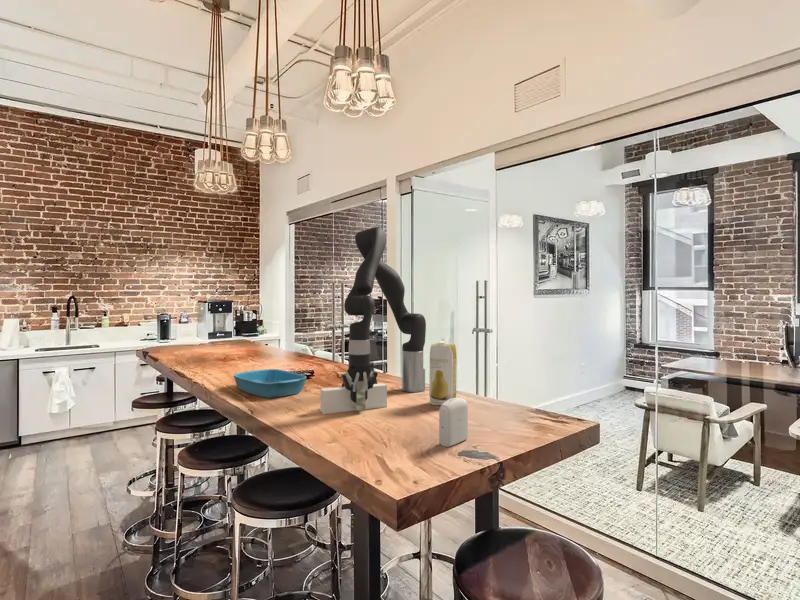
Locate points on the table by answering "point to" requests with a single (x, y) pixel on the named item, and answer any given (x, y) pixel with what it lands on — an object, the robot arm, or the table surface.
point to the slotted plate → (358, 394)
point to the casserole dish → (270, 382)
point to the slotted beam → (341, 400)
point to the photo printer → (453, 422)
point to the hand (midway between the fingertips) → (359, 401)
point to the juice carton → (442, 372)
